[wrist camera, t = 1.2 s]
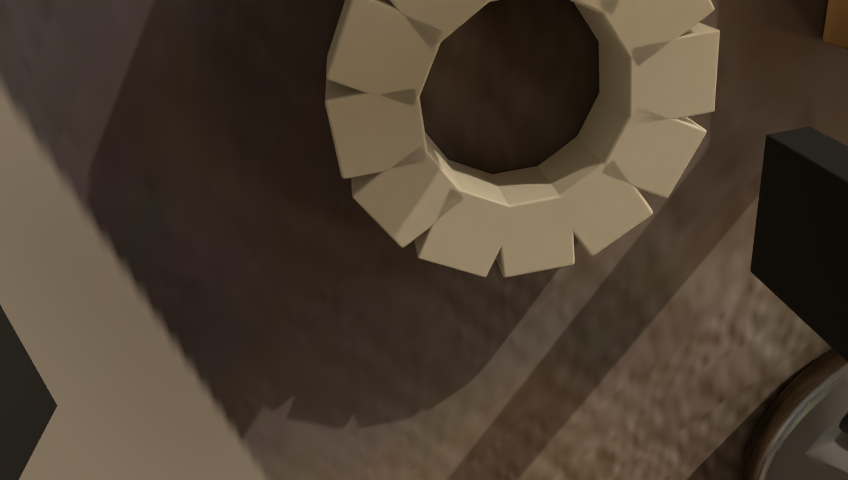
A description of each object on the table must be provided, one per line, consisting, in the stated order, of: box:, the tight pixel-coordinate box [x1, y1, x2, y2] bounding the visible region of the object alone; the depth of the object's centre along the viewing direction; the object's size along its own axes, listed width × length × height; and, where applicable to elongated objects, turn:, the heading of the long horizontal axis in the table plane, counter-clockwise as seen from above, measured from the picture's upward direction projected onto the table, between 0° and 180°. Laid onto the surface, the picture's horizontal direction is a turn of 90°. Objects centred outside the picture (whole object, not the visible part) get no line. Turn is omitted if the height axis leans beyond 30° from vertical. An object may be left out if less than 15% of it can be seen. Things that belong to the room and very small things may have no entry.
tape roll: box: [325, 0, 720, 277], centre depth 20 cm, size 11×11×3 cm
